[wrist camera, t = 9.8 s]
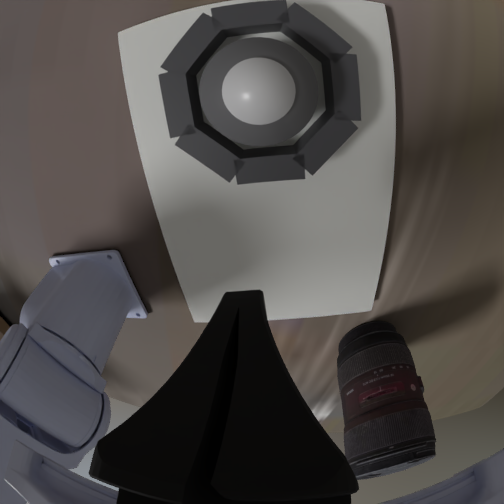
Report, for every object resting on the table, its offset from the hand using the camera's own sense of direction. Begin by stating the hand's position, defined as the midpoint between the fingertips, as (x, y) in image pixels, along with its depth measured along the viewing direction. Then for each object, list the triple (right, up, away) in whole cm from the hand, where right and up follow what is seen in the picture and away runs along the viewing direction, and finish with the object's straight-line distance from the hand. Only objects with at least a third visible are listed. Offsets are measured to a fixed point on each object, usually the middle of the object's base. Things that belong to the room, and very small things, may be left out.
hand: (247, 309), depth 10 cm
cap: (+1, +11, +3) cm, 12 cm away
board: (+1, +7, +7) cm, 10 cm away
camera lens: (+13, -7, +16) cm, 22 cm away
